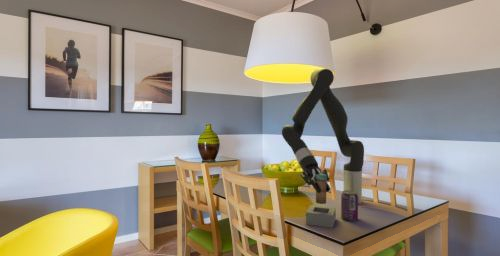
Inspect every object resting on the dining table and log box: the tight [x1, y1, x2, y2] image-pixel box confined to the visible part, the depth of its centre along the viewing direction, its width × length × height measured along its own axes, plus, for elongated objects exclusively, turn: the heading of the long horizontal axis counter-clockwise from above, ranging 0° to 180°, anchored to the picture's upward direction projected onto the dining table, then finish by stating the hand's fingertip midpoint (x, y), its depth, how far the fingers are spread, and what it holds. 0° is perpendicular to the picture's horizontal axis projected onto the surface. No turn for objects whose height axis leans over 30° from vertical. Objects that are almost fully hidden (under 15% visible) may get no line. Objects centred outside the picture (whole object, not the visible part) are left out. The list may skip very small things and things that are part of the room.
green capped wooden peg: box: [315, 174, 327, 205], centre depth 121 cm, size 4×4×12 cm
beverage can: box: [340, 190, 359, 222], centre depth 125 cm, size 7×7×12 cm
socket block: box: [305, 204, 337, 229], centre depth 122 cm, size 11×11×5 cm
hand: (324, 191), depth 120 cm, fingers closed on green capped wooden peg, 4 cm apart
